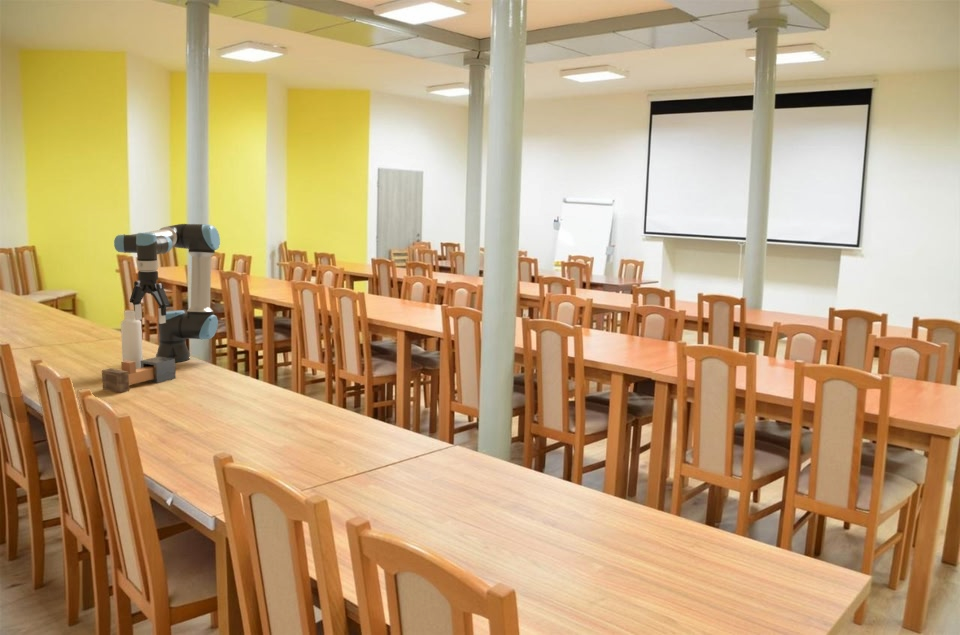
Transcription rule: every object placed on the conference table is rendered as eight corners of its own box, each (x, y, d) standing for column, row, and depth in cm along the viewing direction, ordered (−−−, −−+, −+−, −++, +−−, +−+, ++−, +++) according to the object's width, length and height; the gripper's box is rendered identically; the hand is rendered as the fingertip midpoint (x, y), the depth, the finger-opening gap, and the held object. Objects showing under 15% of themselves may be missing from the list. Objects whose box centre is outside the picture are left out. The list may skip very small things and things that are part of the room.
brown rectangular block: (111, 387, 306) (110, 368, 305) (129, 390, 302) (128, 371, 301) (102, 389, 302) (101, 370, 301) (120, 393, 298) (119, 373, 297)
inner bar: (149, 376, 320) (149, 355, 319) (157, 377, 318) (156, 356, 317) (109, 386, 302) (108, 364, 301) (117, 387, 300) (116, 365, 299)
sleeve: (160, 375, 328) (159, 356, 327) (175, 378, 324) (174, 358, 323) (141, 380, 319) (140, 360, 318) (157, 383, 315) (156, 363, 314)
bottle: (138, 376, 325) (135, 312, 321) (119, 376, 325) (116, 312, 321) (146, 372, 333) (144, 310, 329) (128, 372, 333) (125, 309, 329)
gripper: (118, 269, 310) (121, 319, 314) (162, 273, 300) (165, 326, 304) (133, 267, 317) (136, 317, 321) (177, 272, 307) (179, 323, 311)
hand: (150, 321), depth 312 cm, fingers open, 13 cm apart
